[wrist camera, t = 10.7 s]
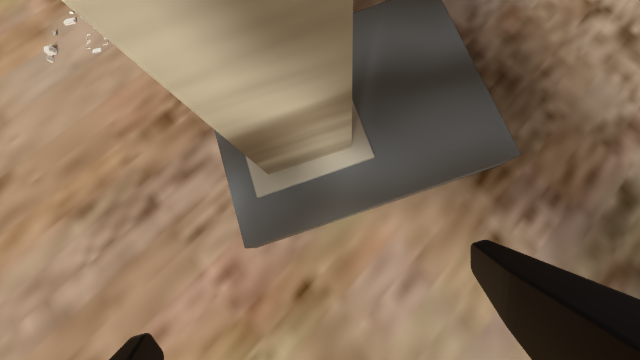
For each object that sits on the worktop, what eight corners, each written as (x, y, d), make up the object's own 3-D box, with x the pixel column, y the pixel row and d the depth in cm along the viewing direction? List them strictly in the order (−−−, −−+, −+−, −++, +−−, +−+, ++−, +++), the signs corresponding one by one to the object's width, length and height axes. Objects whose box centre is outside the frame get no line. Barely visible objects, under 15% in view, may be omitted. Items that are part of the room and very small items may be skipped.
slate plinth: (502, 164, 18) (524, 152, 16) (256, 247, 19) (243, 248, 16) (425, 8, 21) (434, -20, 19) (212, 84, 21) (196, 66, 19)
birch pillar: (351, 147, 17) (354, -139, 4) (268, 174, 17) (31, -25, 4) (325, 73, 18) (267, -328, 5) (247, 99, 18) (13, -232, 6)
